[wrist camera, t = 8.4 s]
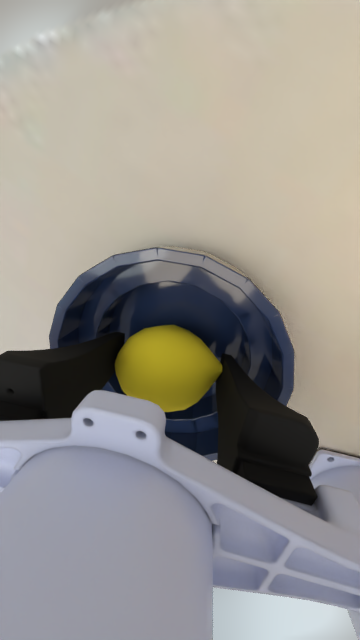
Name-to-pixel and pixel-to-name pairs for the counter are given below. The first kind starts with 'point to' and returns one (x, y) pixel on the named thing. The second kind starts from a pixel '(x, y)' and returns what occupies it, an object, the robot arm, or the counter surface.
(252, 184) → the counter surface
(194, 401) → the lemon
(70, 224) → the counter surface
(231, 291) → the stepped navy bowl
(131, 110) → the counter surface
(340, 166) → the counter surface
